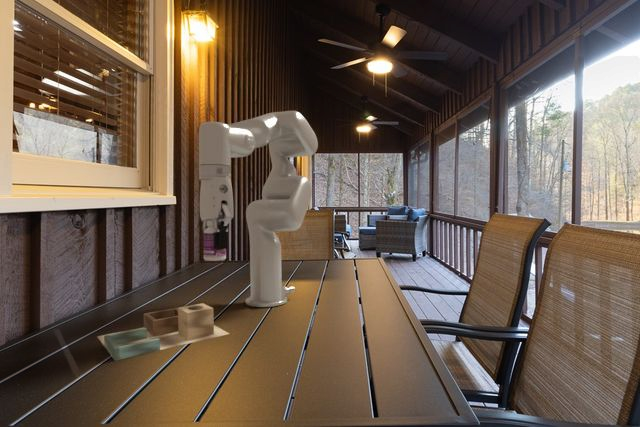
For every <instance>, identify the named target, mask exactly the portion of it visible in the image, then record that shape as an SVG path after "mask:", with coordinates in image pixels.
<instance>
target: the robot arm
mask: <svg viewBox="0 0 640 427" xmlns="http://www.w3.org/2000/svg"><path fill="white" fill-rule="evenodd" d="M266 145H268V150H269V155H270V160H271V164H272V165H271V166H272V167H271V171H270V173H269V175H268V177H267V178H266V182H265V183H264V185H263V188H262V190H261V191H262V192H261V197H262V199H257V200H254V201H251V202H250V203H249V204H248V206H247V207H246V210H245V218H246V223H247V230H248V235H249V268H250V269H249V270H250V272H249V273H250V296H248V297H246V299H245V305H247V306H250V307H254V308H255V307H256V308H271V307H278V306H283V305H284V304H287V302H288V297H287V296H286V295H287V294H292V293H295V292H296V288H295V286H288V287H287V286H283V284H282V278H283V276H282V244H281V241H280V238H279V237H278V235H277V234H276V233H275V232H294V231H298V229H299V228H301V226H302V224H303V222H304V219H305V216H306V214H307V212H308V208H309V205H310V203H311V199H312V194H313V193H312V192H313V189H312V184H311V181H310V180H309V179H308V177H306V176H303V175H298V174H297V173H298V172H297V169H296V167H295V166H294V164H293V163H292V161H290V160H289V159H288V158H297V157H300V158H301V157H311V156H313V155H315V154H316V152H317V150H318V147H319V141H318V138H317V135H316V133H315V131H314V130H313V128H312V127H311V125H310V124H309V122H308V121H307V119H306V118H305V117H304V115H302V113H301V112H299V111H297V110H285V111H273V112H269V113H265V114H262V115H259V116H255V117H253V118H248V119H245V120H241V121H238V122H233V123H229V124H227V123H225V122H221V121H206V122H203V123H201V124H200V125H199V129H198V180H199V181H200V191H199V217H200V220H201V222H202V223H201V224H202V232H203V234H202V235H203V236H202V238H203V239H202V245H203V248H204V230H205V229H207V228H208V226H207V220H214V224H215V231H216V232H214V249H226V250H227V249H228V232H229V226H230V222H231V220H232V219H233V218H234V215H235V214H234V196H233V195H234V194H233V187H232V185H233V184H232V179H231V178H232V174H231V172H232V165H231V164H232V160H231V158H244V157H248V156H250V155H251V154H252V153H253V152H254V150H255V149H257V148H262V147H265V146H266ZM219 222H220V224H219Z"/></svg>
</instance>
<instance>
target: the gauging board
mask: <svg viewBox="0 0 640 427" xmlns="http://www.w3.org/2000/svg"><path fill="white" fill-rule="evenodd" d="M227 335H231V334H230V333H229V332H228V331H226V330H224V329H222V328H220V327H219V326H217V325H215V324H214V334H213V335H209V336H204V337H200V338H196V339H191V340H187V339H186V338H184V337H183V336H181V335H180V334H179V333H178V332H173V333H168V334H163V335H159V336H153V335H152V334H151V333H149V332H148V331H147V328H144V326H143V327H139V328H133V329H128V330H123V331H118V332H112V333H107V334H104V335H103V334H102V335H98V336H96V337H97V339H98V340H99V341H100V343H101V344H102V346H103V347H104V348H105V349H106V350H107V352H108V353H109V354H110V356H111V357H112V358H113V360H114V361H119V360H123V359H128V358H133V357H136V356H140V355H145V354H149V353H154V352H159V351H163V350H167V349H171V348H174V347H176V348H177V347H179V346H183V345H188V344H193V343H197V342H201V341H205V340H209V339H213V338H218V337H222V336H227Z"/></svg>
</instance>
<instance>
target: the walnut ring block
mask: <svg viewBox="0 0 640 427" xmlns="http://www.w3.org/2000/svg"><path fill="white" fill-rule="evenodd" d="M178 308H179V307H174V308H168V309H163V310H156V311H151V312H146V313H143V327H144V328H147V331H148V332H149V333H151V334H152V335H153V336H159V335H163V334H168V333H173V332H178Z"/></svg>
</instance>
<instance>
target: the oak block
mask: <svg viewBox="0 0 640 427" xmlns="http://www.w3.org/2000/svg"><path fill="white" fill-rule="evenodd" d="M177 308H178V333H179V334H180V335H181V336H183V337H184V338H186V339H187V340H191V339H196V338H200V337H204V336H209V335H213V334H214V325H215V323H214V320H215V319H214V318H215V317H214V314H215V312H214V307H212V306H209V305H207V304H205V303H204V302H202V303H197V304H193V305H191V304H190V305H186V306H180V307H177Z"/></svg>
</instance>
